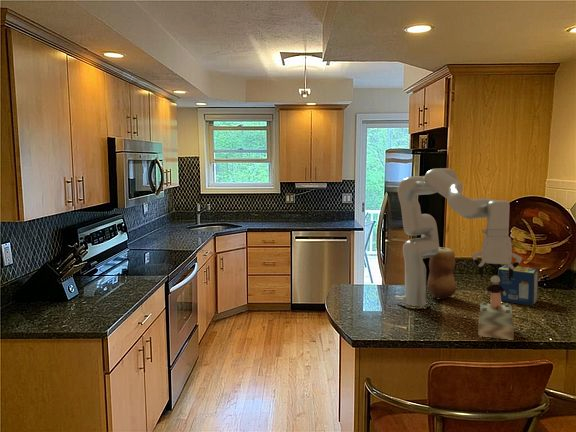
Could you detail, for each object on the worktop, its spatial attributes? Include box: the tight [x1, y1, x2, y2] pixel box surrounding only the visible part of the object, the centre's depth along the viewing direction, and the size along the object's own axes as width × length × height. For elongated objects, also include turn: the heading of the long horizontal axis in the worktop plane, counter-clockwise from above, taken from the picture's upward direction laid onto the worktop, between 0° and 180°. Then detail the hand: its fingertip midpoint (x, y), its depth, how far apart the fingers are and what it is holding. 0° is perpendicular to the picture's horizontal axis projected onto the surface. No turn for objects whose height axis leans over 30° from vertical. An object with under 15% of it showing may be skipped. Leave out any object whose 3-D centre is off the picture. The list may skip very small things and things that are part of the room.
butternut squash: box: [426, 246, 457, 300], centre depth 222 cm, size 14×13×25 cm
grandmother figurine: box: [484, 274, 506, 309], centre depth 173 cm, size 8×4×13 cm, turn 93°
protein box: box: [497, 264, 539, 307], centre depth 215 cm, size 10×15×16 cm
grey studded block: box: [477, 301, 515, 341], centre depth 174 cm, size 12×12×11 cm
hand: (495, 277), depth 173 cm, fingers open, 9 cm apart
